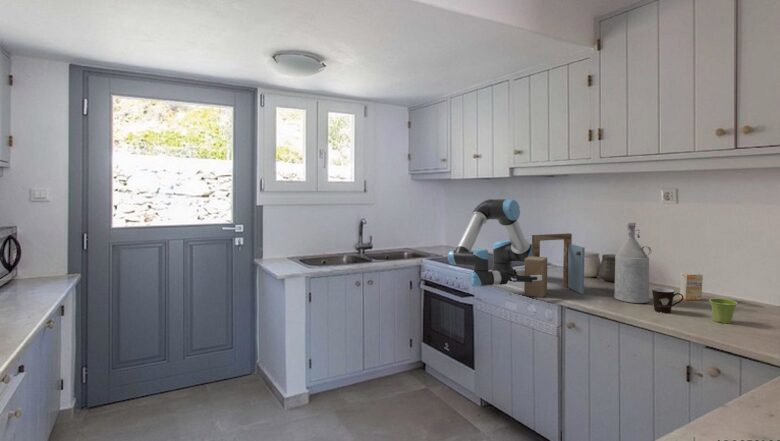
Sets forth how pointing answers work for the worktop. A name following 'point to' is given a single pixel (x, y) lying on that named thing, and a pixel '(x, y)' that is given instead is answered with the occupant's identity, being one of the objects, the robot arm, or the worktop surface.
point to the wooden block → (536, 268)
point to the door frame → (567, 240)
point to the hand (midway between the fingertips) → (534, 274)
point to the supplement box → (691, 286)
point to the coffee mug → (664, 299)
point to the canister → (632, 270)
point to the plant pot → (722, 310)
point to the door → (576, 268)
